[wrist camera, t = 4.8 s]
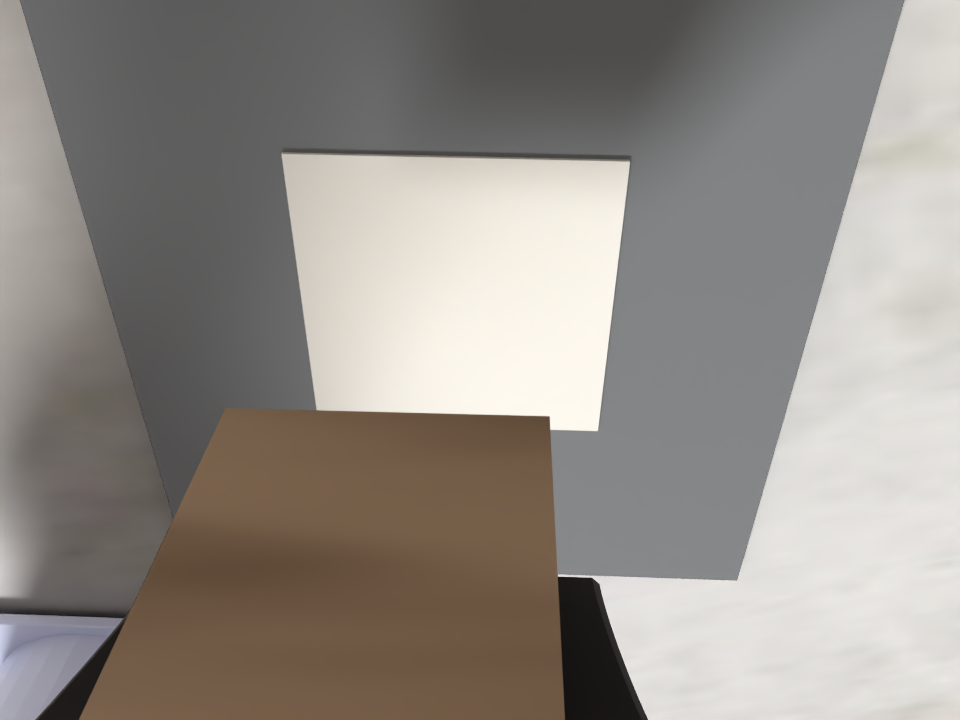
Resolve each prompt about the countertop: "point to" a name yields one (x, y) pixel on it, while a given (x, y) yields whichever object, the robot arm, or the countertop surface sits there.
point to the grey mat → (478, 227)
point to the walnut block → (351, 576)
